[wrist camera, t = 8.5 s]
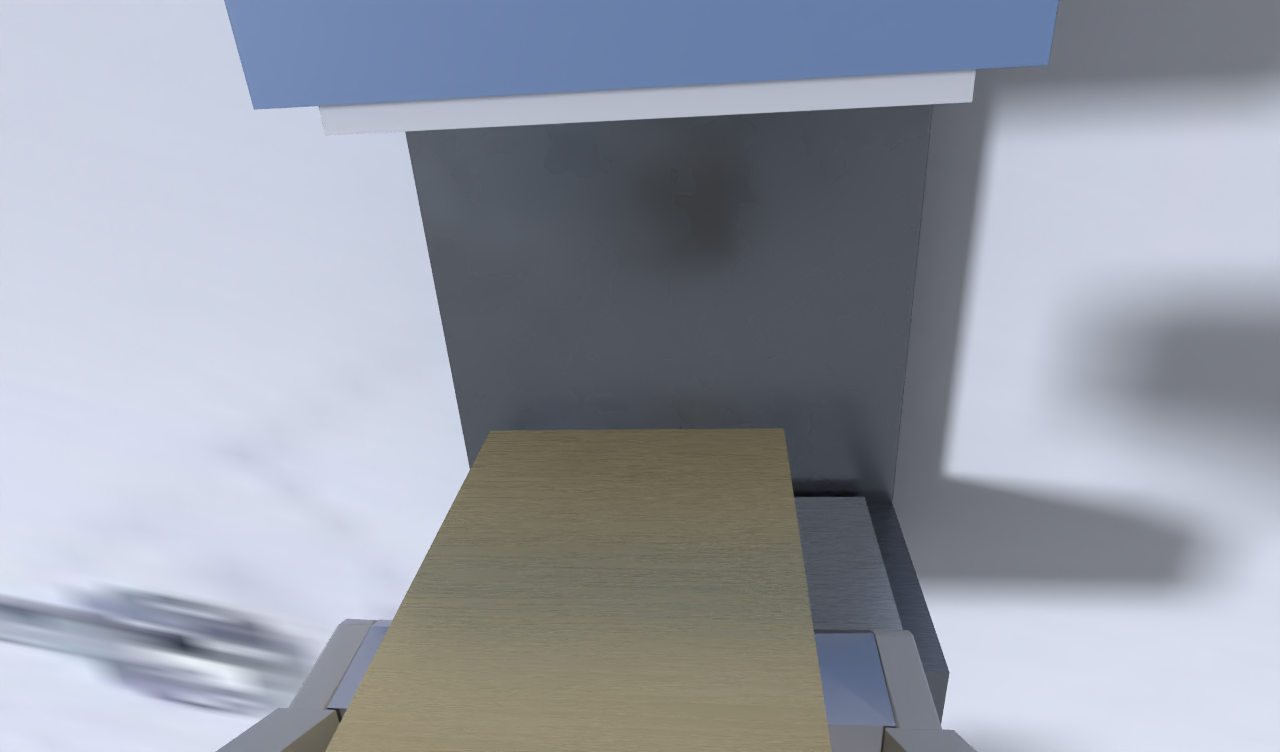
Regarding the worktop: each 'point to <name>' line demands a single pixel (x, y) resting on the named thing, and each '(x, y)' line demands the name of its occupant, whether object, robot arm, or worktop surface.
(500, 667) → the brass block
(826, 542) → the base
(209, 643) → the worktop surface
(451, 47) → the sliding jaw
